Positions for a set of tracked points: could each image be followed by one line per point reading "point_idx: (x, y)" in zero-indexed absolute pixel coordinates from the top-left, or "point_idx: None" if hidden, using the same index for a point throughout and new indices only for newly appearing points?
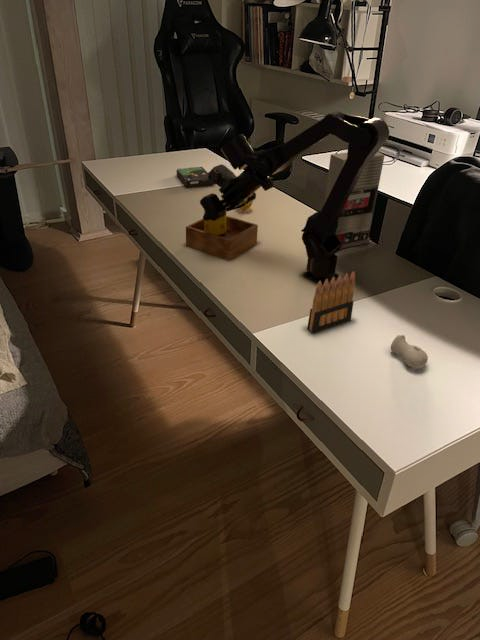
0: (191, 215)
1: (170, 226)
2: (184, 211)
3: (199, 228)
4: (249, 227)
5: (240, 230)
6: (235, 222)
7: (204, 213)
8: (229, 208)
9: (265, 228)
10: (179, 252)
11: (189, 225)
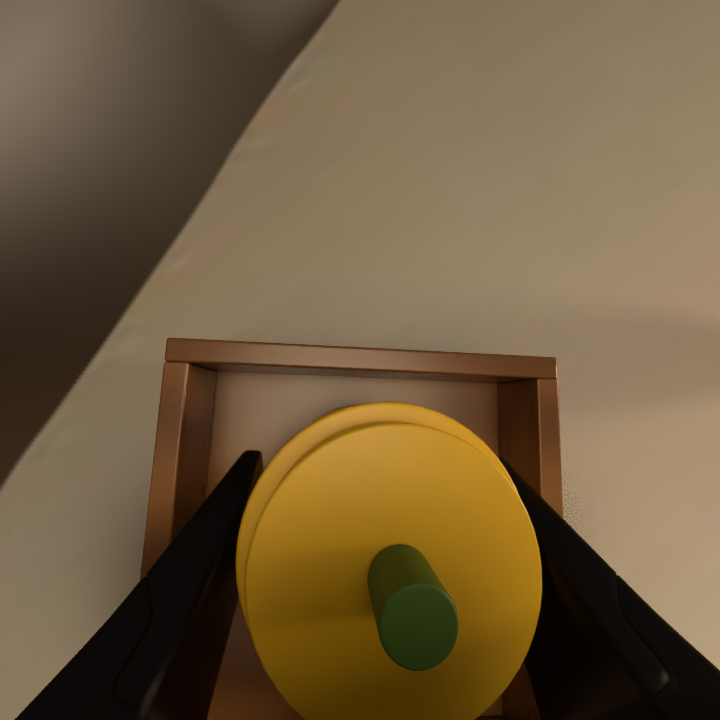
0: (562, 159)
1: (377, 149)
2: (579, 102)
3: (320, 373)
4: (528, 715)
5: None
6: None
7: (202, 504)
8: (535, 659)
9: (693, 600)
10: (117, 383)
11: (206, 347)
